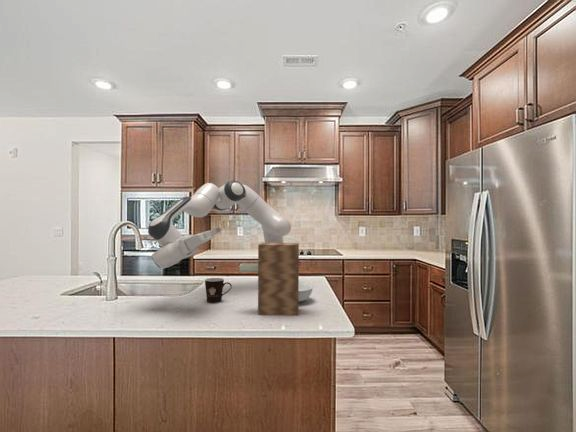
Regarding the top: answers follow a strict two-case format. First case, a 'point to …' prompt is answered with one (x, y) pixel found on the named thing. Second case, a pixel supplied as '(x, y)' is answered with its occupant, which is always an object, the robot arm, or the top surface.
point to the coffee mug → (215, 289)
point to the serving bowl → (304, 291)
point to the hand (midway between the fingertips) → (217, 229)
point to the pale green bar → (248, 268)
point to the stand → (278, 278)
